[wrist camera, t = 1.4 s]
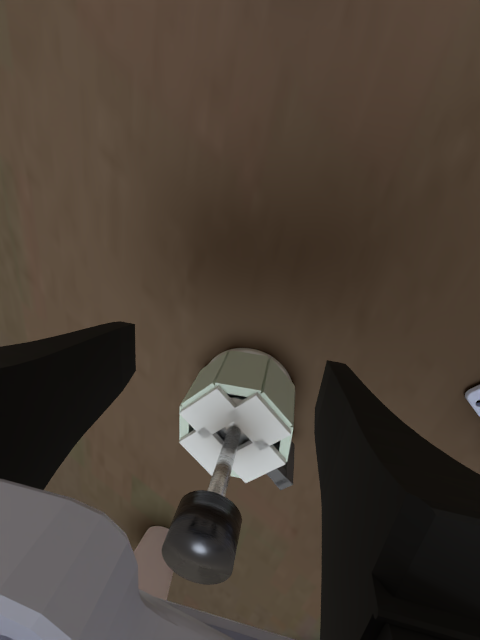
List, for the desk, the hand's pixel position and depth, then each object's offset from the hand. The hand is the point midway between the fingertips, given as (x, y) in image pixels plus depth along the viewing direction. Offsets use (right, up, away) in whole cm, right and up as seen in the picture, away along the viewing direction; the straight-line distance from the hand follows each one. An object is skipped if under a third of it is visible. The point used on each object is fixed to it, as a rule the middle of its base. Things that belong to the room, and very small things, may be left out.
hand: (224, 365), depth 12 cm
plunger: (0, -5, +8) cm, 10 cm away
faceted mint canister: (+1, -4, +13) cm, 13 cm away
